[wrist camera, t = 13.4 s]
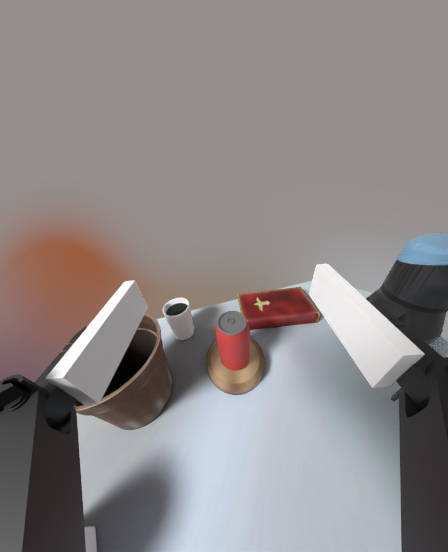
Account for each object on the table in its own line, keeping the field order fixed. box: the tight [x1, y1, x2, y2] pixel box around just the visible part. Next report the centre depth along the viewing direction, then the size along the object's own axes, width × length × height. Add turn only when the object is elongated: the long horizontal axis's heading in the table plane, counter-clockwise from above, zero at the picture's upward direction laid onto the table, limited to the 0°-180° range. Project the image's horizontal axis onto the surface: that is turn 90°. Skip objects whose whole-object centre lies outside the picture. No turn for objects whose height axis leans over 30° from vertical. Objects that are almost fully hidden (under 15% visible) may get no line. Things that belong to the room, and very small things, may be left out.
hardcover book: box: [237, 287, 320, 330], centre depth 50 cm, size 12×21×4 cm, turn 94°
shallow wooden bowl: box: [207, 337, 264, 395], centre depth 38 cm, size 13×13×3 cm
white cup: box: [163, 298, 194, 340], centre depth 45 cm, size 7×7×10 cm
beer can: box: [216, 311, 250, 371], centre depth 34 cm, size 7×7×12 cm
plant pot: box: [73, 313, 173, 430], centre depth 31 cm, size 16×16×16 cm
